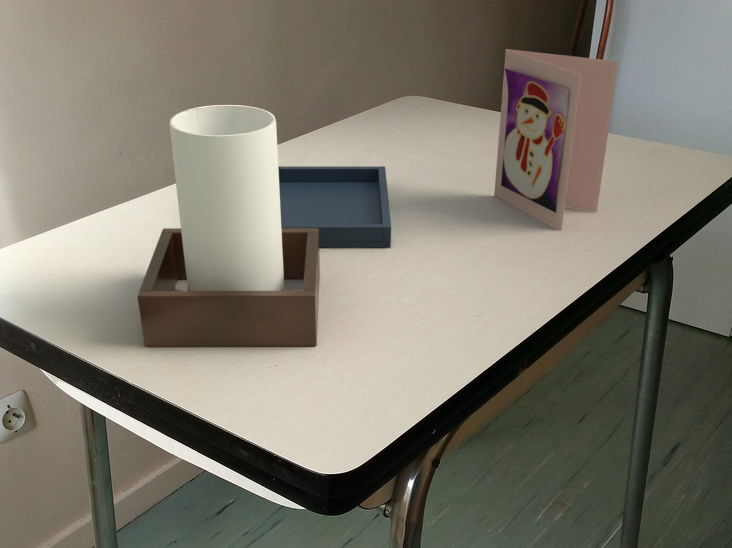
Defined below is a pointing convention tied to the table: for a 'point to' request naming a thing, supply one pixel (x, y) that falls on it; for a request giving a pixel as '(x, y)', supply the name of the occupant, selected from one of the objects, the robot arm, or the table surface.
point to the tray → (337, 204)
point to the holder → (231, 301)
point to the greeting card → (553, 132)
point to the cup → (228, 198)
